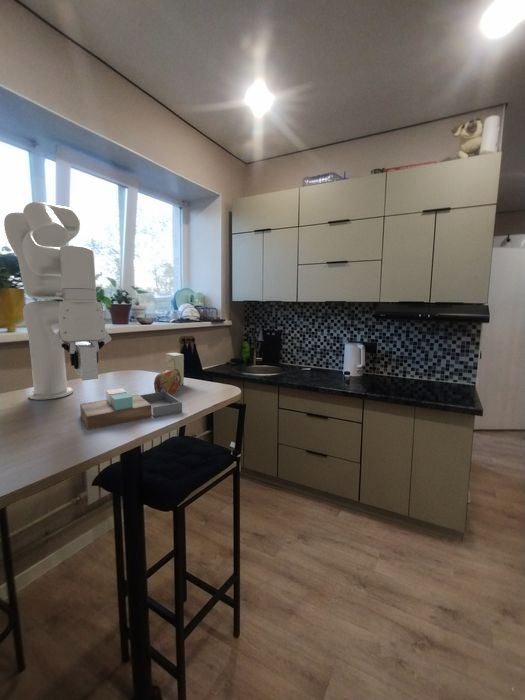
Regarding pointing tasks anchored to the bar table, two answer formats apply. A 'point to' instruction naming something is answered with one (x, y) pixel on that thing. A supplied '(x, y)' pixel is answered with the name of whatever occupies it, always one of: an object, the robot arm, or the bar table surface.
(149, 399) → the box
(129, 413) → the board
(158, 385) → the tin
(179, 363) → the skincare box
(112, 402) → the teal block
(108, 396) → the tile white
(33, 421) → the bar table surface
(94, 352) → the grey rectangular block
